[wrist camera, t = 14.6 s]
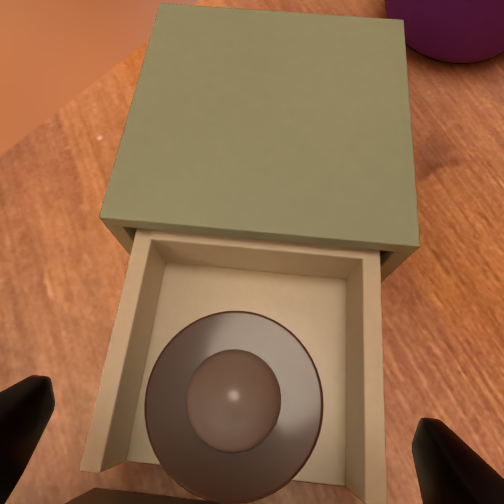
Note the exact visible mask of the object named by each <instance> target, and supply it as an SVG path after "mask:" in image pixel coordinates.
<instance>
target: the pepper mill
mask: <svg viewBox="0 0 504 504" xmlns="http://www.w3.org/2000/svg"><path fill="white" fill-rule="evenodd" d="M323 409H324V403H323V391H322V385H321V380H320V377H319V374H318V370H317V368H316V366H315V363H314V361H313V359H312V357H311V356H310V354H309V352H308V351H307V349H306V348H305V346H304V345H303V344H302V343H301V341H300V340H299V339H298V338H297V337H296V336H295V335H294V334H293V333H292V332H291V331H290V330H288V329H287V328H286V327H285V326H283V325H282V324H280V323H278V322H277V321H275V320H273V319H271V318H268V317H266V316H264V315H261V314H257V313H253V312H247V311H224V312H218V313H214V314H210V315H207V316H205V317H202V318H200V319H198V320H196V321H194V322H192V323H190V324H189V325H188V326H186V327H185V328H183V329H182V330H181V331H180V332H178V333H177V334H176V335H175V336H174V337H173V338H172V339H171V340H170V341H169V343H168V344H167V345H166V346H165V347H164V349H163V350H162V352H161V353H160V355H159V356H158V358H157V360H156V362H155V364H154V366H153V368H152V371H151V374H150V376H149V379H148V384H147V388H146V393H145V402H144V417H145V424H146V430H147V434H148V438H149V442H150V444H151V447H152V449H153V452H154V454H155V456H156V457H157V459H158V461H159V463H160V464H161V466H162V467H163V468H164V470H165V471H166V472H167V473H168V475H169V476H170V477H171V478H172V479H173V480H174V481H175V482H176V483H177V484H179V485H180V486H181V487H183V488H184V489H186V490H187V491H188V492H190V493H192V494H194V495H196V496H198V497H200V498H203V499H206V500H209V501H212V502H218V503H223V504H240V503H248V502H252V501H256V500H259V499H262V498H264V497H267V496H269V495H271V494H273V493H275V492H276V491H278V490H279V489H281V488H282V487H284V486H285V485H287V484H288V483H289V482H290V481H291V480H292V479H293V478H294V477H295V476H296V475H297V474H298V473H299V472H300V471H301V469H302V468H303V467H304V465H305V464H306V462H307V461H308V459H309V458H310V456H311V454H312V452H313V450H314V448H315V446H316V443H317V440H318V437H319V434H320V431H321V426H322V421H323Z"/></svg>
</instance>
